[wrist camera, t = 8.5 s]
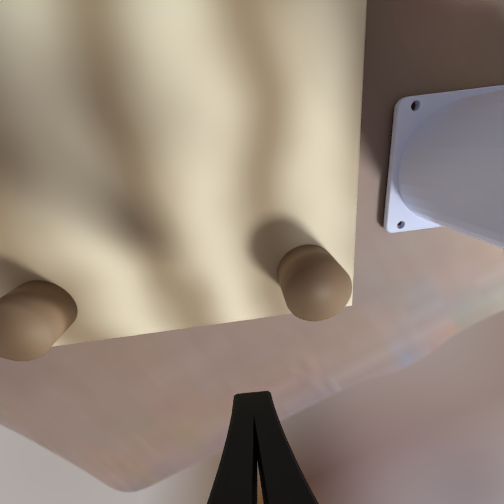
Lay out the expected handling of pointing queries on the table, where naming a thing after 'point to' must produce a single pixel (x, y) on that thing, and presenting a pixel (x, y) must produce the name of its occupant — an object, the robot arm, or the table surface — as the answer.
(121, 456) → the table surface
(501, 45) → the table surface
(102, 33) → the stool seat
